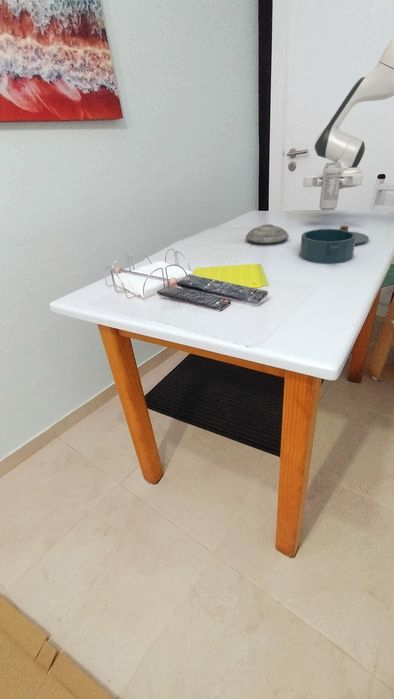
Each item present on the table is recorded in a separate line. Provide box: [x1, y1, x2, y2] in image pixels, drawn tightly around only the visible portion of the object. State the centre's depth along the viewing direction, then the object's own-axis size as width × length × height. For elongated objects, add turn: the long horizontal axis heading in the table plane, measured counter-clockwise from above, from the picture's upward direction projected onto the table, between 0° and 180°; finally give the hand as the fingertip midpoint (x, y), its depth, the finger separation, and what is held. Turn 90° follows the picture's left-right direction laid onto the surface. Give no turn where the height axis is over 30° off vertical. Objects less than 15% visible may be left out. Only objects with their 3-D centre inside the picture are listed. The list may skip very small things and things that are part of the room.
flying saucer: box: [245, 223, 290, 244], centre depth 119 cm, size 15×15×6 cm
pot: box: [299, 228, 356, 264], centre depth 100 cm, size 15×20×6 cm
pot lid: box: [339, 224, 369, 245], centre depth 112 cm, size 16×16×5 cm
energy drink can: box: [318, 161, 342, 212], centre depth 119 cm, size 6×6×15 cm
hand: (330, 182), depth 118 cm, fingers closed on energy drink can, 6 cm apart
